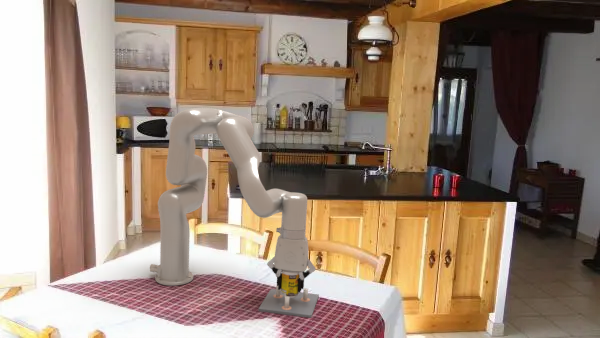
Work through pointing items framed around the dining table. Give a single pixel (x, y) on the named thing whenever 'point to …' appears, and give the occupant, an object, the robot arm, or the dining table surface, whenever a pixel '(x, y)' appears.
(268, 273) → the dining table surface
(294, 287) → the supplement bottle
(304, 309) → the peg board
